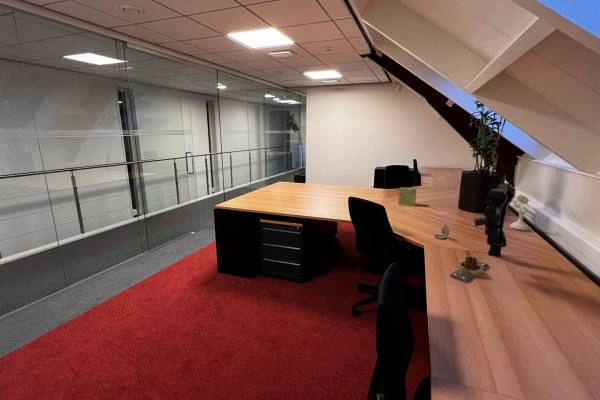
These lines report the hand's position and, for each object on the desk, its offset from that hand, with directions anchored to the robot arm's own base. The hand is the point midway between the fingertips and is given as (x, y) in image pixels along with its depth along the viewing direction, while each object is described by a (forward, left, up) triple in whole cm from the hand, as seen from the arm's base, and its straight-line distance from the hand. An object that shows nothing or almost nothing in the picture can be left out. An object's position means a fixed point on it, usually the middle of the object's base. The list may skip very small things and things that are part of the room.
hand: (489, 242), depth 159 cm
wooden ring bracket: (+13, -7, -13) cm, 20 cm away
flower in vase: (-81, +20, -13) cm, 84 cm away
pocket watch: (-33, -26, -13) cm, 44 cm away
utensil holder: (+13, -7, -13) cm, 20 cm away
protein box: (-116, -67, -13) cm, 135 cm away
